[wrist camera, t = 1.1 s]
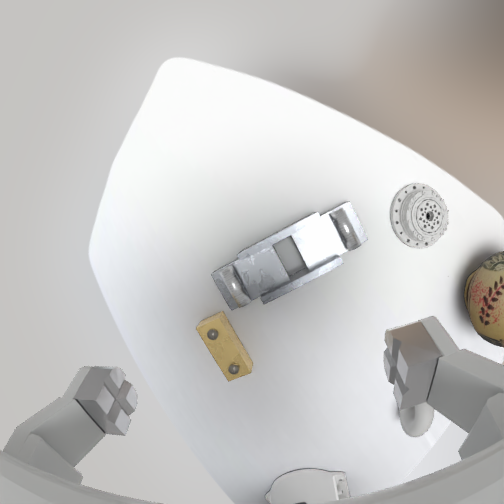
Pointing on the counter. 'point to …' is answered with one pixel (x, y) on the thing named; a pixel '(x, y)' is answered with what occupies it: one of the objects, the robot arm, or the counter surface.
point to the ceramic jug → (487, 299)
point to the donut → (416, 419)
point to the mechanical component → (419, 215)
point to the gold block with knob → (225, 346)
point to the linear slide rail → (310, 247)
